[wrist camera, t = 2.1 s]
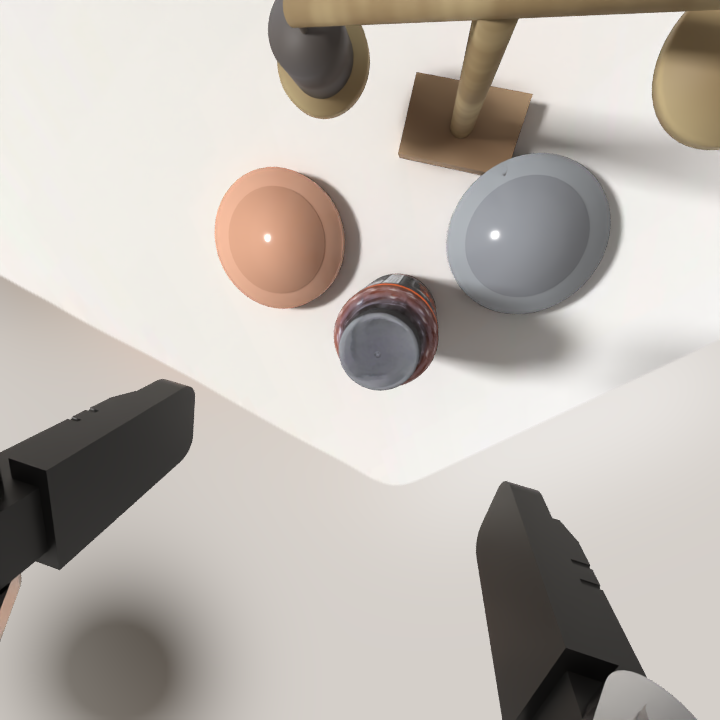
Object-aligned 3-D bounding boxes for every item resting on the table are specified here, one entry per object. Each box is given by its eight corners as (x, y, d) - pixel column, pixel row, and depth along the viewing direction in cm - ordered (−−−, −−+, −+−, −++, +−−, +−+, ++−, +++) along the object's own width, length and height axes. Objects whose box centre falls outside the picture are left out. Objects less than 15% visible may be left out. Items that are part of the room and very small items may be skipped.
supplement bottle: (447, 331, 27) (460, 389, 16) (377, 357, 29) (349, 425, 18) (418, 258, 26) (412, 271, 15) (347, 290, 27) (298, 322, 17)
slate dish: (472, 142, 23) (475, 137, 21) (630, 175, 22) (642, 171, 20) (429, 292, 26) (429, 294, 25) (563, 325, 25) (569, 330, 24)
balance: (323, 60, 23) (98, -331, 7) (633, 119, 21) (1241, -234, 5) (312, 140, 24) (109, -35, 9) (597, 201, 22) (980, 117, 7)
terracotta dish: (228, 157, 26) (218, 153, 24) (357, 186, 25) (353, 183, 23) (219, 289, 29) (210, 291, 28) (331, 319, 28) (327, 322, 27)
